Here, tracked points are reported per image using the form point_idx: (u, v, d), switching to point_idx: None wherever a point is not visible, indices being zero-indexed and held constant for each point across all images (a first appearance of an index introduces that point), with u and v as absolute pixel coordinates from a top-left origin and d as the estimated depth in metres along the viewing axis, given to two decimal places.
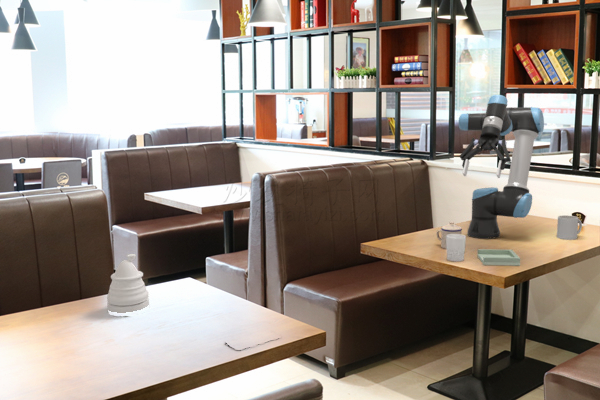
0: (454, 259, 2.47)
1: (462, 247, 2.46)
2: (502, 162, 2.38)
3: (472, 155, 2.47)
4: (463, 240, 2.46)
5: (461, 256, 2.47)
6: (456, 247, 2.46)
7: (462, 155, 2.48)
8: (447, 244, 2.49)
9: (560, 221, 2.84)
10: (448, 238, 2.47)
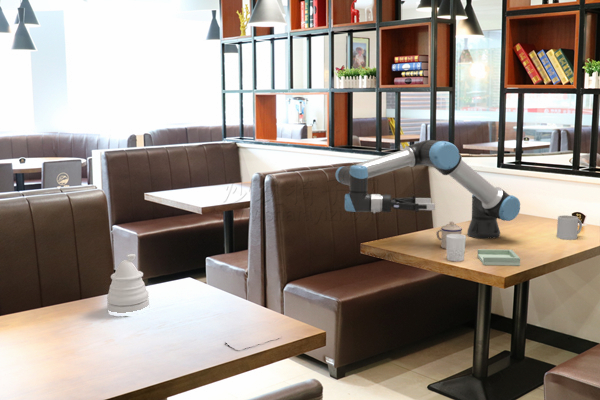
0: (454, 259, 2.47)
1: (462, 247, 2.46)
2: (420, 208, 2.45)
3: (409, 201, 2.58)
4: (463, 240, 2.46)
5: (461, 256, 2.47)
6: (456, 247, 2.46)
7: None
8: (447, 244, 2.49)
9: (560, 221, 2.84)
10: (448, 238, 2.47)
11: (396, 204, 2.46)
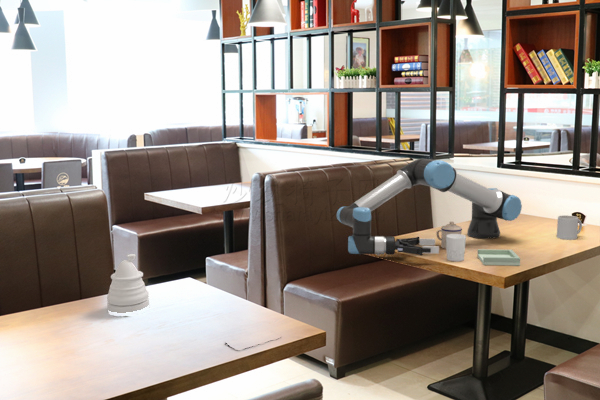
0: (454, 259, 2.47)
1: (462, 247, 2.46)
2: (424, 251, 2.43)
3: (413, 242, 2.56)
4: (463, 240, 2.46)
5: (461, 256, 2.47)
6: (456, 247, 2.46)
7: None
8: (447, 244, 2.49)
9: (560, 221, 2.84)
10: (448, 238, 2.47)
11: (400, 247, 2.45)
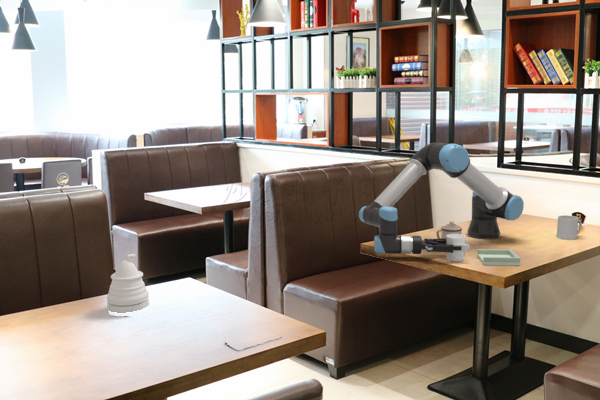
0: (454, 259, 2.47)
1: None
2: (454, 249, 2.45)
3: (442, 243, 2.53)
4: (463, 240, 2.46)
5: (461, 256, 2.47)
6: None
7: None
8: (447, 244, 2.49)
9: (560, 221, 2.84)
10: (448, 238, 2.47)
11: (430, 247, 2.44)
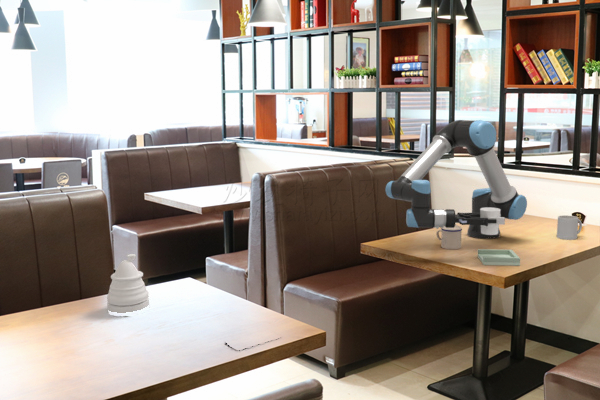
0: (488, 232, 2.42)
1: None
2: (489, 222, 2.40)
3: (476, 216, 2.49)
4: (498, 213, 2.41)
5: (496, 229, 2.43)
6: None
7: None
8: (481, 217, 2.44)
9: (560, 221, 2.84)
10: (482, 211, 2.43)
11: (464, 220, 2.39)
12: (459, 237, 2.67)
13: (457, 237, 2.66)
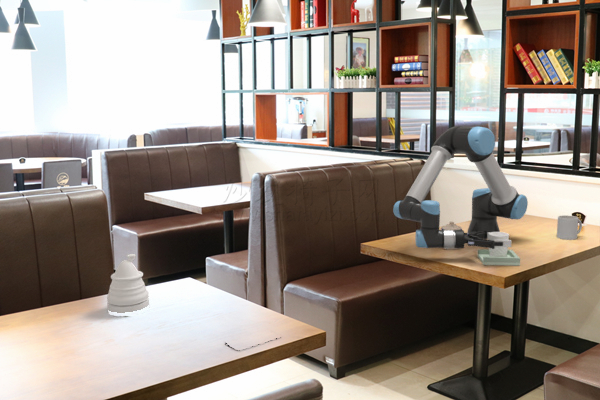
0: None
1: None
2: None
3: (481, 236, 2.52)
4: (507, 238, 2.43)
5: (504, 254, 2.44)
6: None
7: None
8: None
9: (560, 221, 2.84)
10: (491, 236, 2.44)
11: (471, 241, 2.41)
12: None
13: None
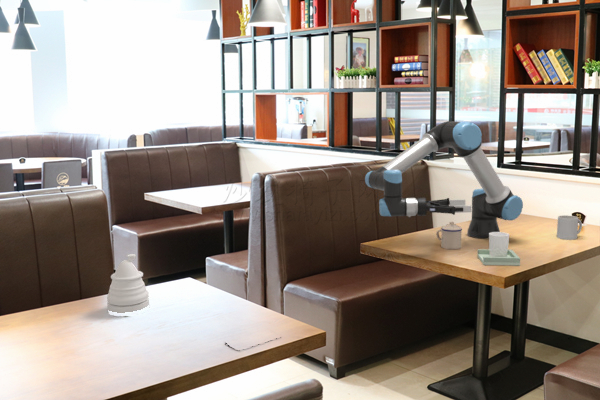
0: None
1: (506, 245, 2.43)
2: None
3: (444, 203, 2.58)
4: (507, 238, 2.43)
5: (504, 254, 2.44)
6: (500, 245, 2.43)
7: None
8: (490, 242, 2.46)
9: (560, 221, 2.84)
10: (491, 236, 2.44)
11: (432, 207, 2.46)
12: (459, 237, 2.67)
13: (457, 237, 2.66)
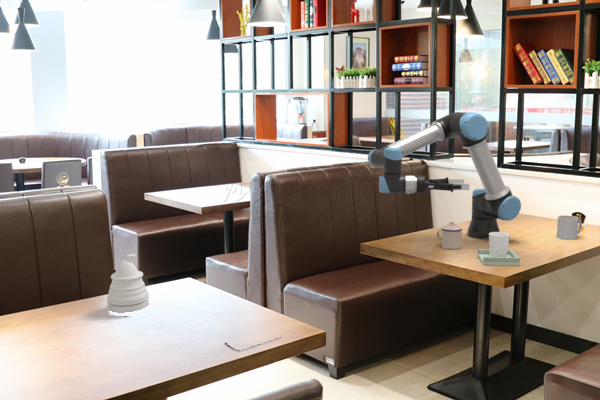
0: None
1: (506, 245, 2.43)
2: (454, 188, 2.48)
3: (443, 182, 2.61)
4: (507, 238, 2.43)
5: (504, 254, 2.44)
6: (500, 245, 2.43)
7: None
8: (490, 242, 2.46)
9: (560, 221, 2.84)
10: (491, 236, 2.44)
11: (431, 185, 2.50)
12: (459, 237, 2.67)
13: (457, 237, 2.66)
